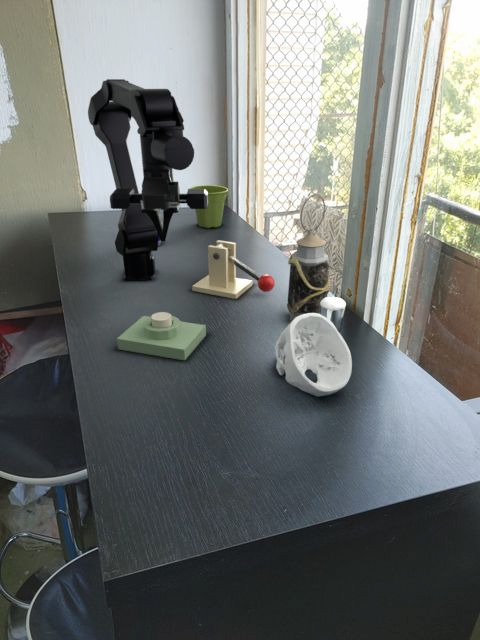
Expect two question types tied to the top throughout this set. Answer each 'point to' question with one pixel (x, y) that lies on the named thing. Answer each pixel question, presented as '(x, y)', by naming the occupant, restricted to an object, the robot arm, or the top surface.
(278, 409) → the top surface
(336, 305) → the milkshake
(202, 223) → the plant pot
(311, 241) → the lantern
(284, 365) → the skull bowl
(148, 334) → the block
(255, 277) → the lever
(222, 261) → the bracket
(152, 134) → the robot arm
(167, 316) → the button
